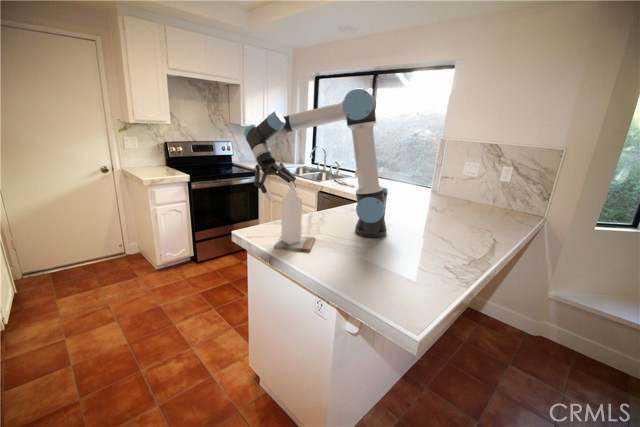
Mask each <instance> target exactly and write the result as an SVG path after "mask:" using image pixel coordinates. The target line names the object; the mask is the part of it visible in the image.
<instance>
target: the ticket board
mask: <svg viewBox="0 0 640 427" xmlns="http://www.w3.org/2000/svg"><path fill="white" fill-rule="evenodd" d="M315 241H316V237H311V236H302V235H301V241H300V242H297V243H293V244H287V243H286V242H284V241H282V240H281V236H280V237H279V238H278V240H277V241H276V243H275V244H274V246H273V248H274V249H277V250H278V249H279V250H284V251H285V250H286V251H297V252H307V253H311V251H312V249H313V246H314V244H315Z"/></svg>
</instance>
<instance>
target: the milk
mask: <svg viewBox="0 0 640 427" xmlns="http://www.w3.org/2000/svg"><path fill="white" fill-rule="evenodd" d="M302 205H303V199H302V198H301V197H299V196H298V195H296V192H294V191H291V189H288V190H287V193H286V194H284V196H282V197H281V236H280V237H281V240H282V241H284V242H286V243H287V244H293V243H297V242H300V241H301V236H302V234H301V233H302V211H303V209H302V208H303V206H302Z"/></svg>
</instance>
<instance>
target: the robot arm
mask: <svg viewBox="0 0 640 427" xmlns="http://www.w3.org/2000/svg"><path fill="white" fill-rule="evenodd" d="M376 101H377V100H376V99H375V97H374V95H373V94H372V92H370V91H369V90H368V89H366V88H363V87H358V88H357V87H356V88H353V89H351V90H350V91H348V92H347V93H346V95H345V96H344V98H343V100H342V101H341V102H338V103H333V104H329V105H326V106H322V107H321V106H320V107H318V108H314V109H310V110H305V111H300V112H297V113H293V114H290V115H289V114H288V115H284V116H283V115H282V114H281V113H280V112H279V111H273V112H271V113H270V114H268V116H267V117H265V119H263V121H261V122H259V124H258V125H256V124H250V126H246V128H245V129H244V131H243V134H244V137H245V140H246V143H247V144H248V145H249V148H250V150H251V152H252V154H253V157H254V159H255V161H256V163H257V164H256V165H255V166H254V168H253V170H254V184H253V185H254V187H258V189H259V190H261V192H262V193H263V194H264V196H265V197H266V201H267V202H270V201H271V199H272V198H273V196H272V193H271V192H270V190H269V188H268V185H267V184H266V183H265V181H266V179H267V176H276V177H279V178H281V179H282V180H284V181H285V182H287V183H288V187H289V190H291V191H294V192H296V196H298V194H299V192H298V189H297V185H296V184H295V181H296V180H297V177H296V176H295V175H294V174H293V173H292V172H291V171H289V170H288V168H286V167H285V165H284V164H283V162H280V163H279V164H278V163H276V159H275V157H274V155H273V153H272V151H271V148H270V146H269V145H268V141H269V140H271V139H272V138H273V137H274V136H275V135H281V134H283V135H284V134H285V135H286V134H289V133H292V132H296V131H301V130H306V129H309V128H314V127H319V126H323V125H326V124H331V123H336V122H340V121H346V125H347V126H346V127H347V128H348V129H349V130H350V131H351V135H352V136H351V137H352V144H353V152H354V159H355V168H356V177H357V183H358V184H357V186H358V188H357V189H356V191H355V198H356V206H355V210H356V211H355V212H356V215H357V217H358V220H357V222H356V224H355V227H354V232H355V233H356V234H357V235H359V236H361V237H364V238H365V237H366V238H372V239H373V238H375V239H378V238H379V239H380V238H383V237H385V236H386V235H387V232H388V229H387V225H386V221H385V218H386V217H385V215H386V207H387V198H388V194H389V193H388V188H387V187H385V186H380V183H379V173H378V165H377V155H376V154H377V153H376V144H375V143H376V142H375V136H374V126H375V124H376V123H377V119H376V118H377V117H376V108H377V102H376ZM261 172H263V174H262V176H261V175H260V174H261ZM260 176H261V179H260Z"/></svg>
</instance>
